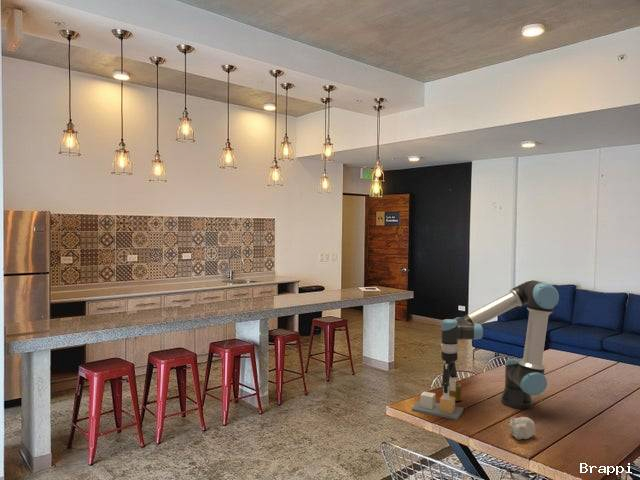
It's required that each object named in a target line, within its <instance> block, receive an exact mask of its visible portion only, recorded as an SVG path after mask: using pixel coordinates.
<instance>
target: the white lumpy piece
mask: <svg viewBox="0 0 640 480" xmlns="http://www.w3.org/2000/svg"><path fill="white" fill-rule="evenodd" d="M509 420H510V421H509V432H510V434H511V436H512V437H515V439H516V440H522V439H523V440H527V439H530V438H531V437H532V436H533V435H534V434H535V433H536V424H535V422H534V421H533V419H531V418H530V417H528V416H520V415H517V416H515V417H511V418H510V419H509Z"/></svg>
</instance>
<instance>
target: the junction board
mask: <svg viewBox="0 0 640 480" xmlns="http://www.w3.org/2000/svg"><path fill="white" fill-rule="evenodd" d="M436 395H437V394H436V393H435V392H429V391H423V392H422V393H421V394H420V396H419V397H420V398H419V400H418V401H417V402H416V403H415V404H414V405H413V406H412V408H411V411H412V412H416V413H421V414H425V415H431V416H436V417H441V418H445V419H450V420H455V421H458V419H459V418H460V416H461V415H462V413H463V412H464V407H462V406H461V407H460V406H456V405H455V410H454V411H453V413H448V412H442V411H440V402H436V398H437V397H436Z"/></svg>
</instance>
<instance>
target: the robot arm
mask: <svg viewBox="0 0 640 480" xmlns="http://www.w3.org/2000/svg"><path fill="white" fill-rule="evenodd" d="M559 301H560V293H559V292H558V289H556V287H555V286H554V285H551V284H549V283H547V282H543V281H538V280H533V279H532V280H528V281H525V282H522V283H520V284H519V285H517V286H515V287H513V288H511V289H510V290H509V292H508V293H506V294H504V295H502V296H501V297H498V298H496V299H495V300H492V301H490V302H489V303H487V304H484V305H483V306H482V307H479V308H477V309H476V310H473V311H472V312H470V313H468V314H466V315H464V316H462V317H461V316H459V317H455V318H453V319H452V318H451V319H450V318H449V319H448V318H446V319H442V321H441V329H440V331H441V332H440V333H441V343H440V346H441V360H442V361H445V363H444V364H443V371H442V378H441V379H442V381H441V383H440V386H442V395H443V399H446V400H449V382H450V390H451V391H456V383H457V380H456V378H458V375H457V367H456V366H457V365H456V362H457V360H458V340H474V341H475V340H481V339H482V338H483V337H484V328H483V326H482V325H483V324H485V323H487V322H488V321H491V320H493V319H495V318H496V317H498V316H500V315H502V314H504V313H506V312H508V311H510V310H512V309H514V308H516V307H522V306H525V305H526V309H527V310H528V320H527V329H526V334H525V341H524V349H523V356H522V358H507V359H506V361H505V367H504V368H505V371H504V373H505V374H504V379H505V380H504V388H503V391H502V393H501V396H500V403H501V404H503V405H505V406H506V407H510V408H514V409H520V410H521V409H522V410H523V409H524V410H525V409H530V408H533V405H534V404H533V398H532V396H538V395H541V394H542V393H543V392H544V391H545V390H546V389H547V386H548V381H547V378H546V376H545V371H546V370H545V366H544V365H543V357H544V352H545V346H546V345H545V342H546V335H547V330H548V328H547V327H548V322H549V315H551V314H553V312H554V308H555V307H556V306H557V305H558V304H559Z"/></svg>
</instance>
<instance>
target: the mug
mask: <svg viewBox="0 0 640 480" xmlns="http://www.w3.org/2000/svg"><path fill="white" fill-rule="evenodd" d="M449 396H451V397H455V402H460V401H462V385H461V384H460V383H458V382H456V391H451V390H450V381H449Z"/></svg>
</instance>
